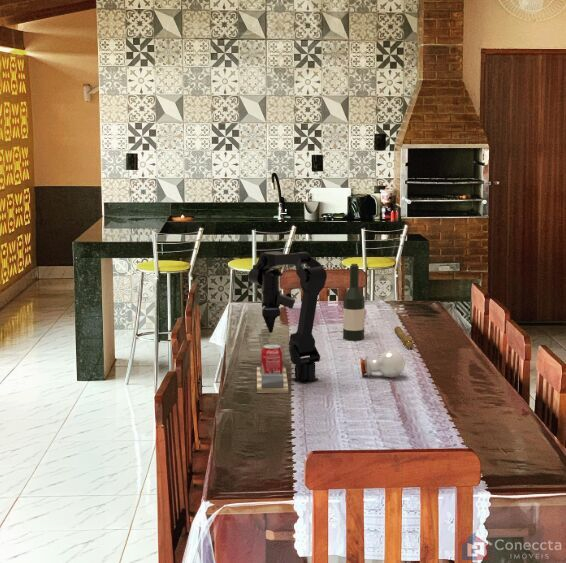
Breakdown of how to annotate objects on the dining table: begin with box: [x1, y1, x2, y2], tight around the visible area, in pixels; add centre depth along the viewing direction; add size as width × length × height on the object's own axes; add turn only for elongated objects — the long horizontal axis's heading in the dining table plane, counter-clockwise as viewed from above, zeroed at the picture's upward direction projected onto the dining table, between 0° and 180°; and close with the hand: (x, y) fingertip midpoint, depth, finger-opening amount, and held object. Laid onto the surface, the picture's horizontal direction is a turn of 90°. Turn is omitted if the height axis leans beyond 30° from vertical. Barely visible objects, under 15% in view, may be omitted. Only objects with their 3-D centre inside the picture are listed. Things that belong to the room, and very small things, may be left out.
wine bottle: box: [342, 263, 366, 342], centre depth 392 cm, size 8×8×30 cm
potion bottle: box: [360, 349, 406, 379], centre depth 337 cm, size 9×10×15 cm
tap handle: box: [394, 325, 414, 349], centre depth 390 cm, size 3×3×30 cm
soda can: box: [260, 343, 284, 376], centre depth 326 cm, size 7×7×12 cm
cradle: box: [256, 364, 289, 394], centre depth 332 cm, size 28×10×6 cm, turn 2°
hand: (270, 331), depth 349 cm, fingers open, 3 cm apart
